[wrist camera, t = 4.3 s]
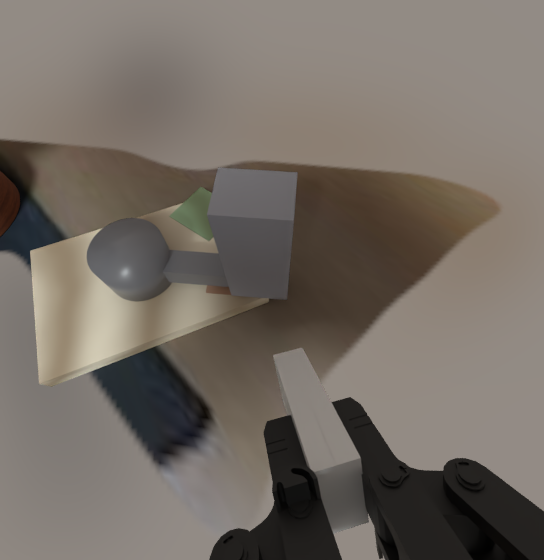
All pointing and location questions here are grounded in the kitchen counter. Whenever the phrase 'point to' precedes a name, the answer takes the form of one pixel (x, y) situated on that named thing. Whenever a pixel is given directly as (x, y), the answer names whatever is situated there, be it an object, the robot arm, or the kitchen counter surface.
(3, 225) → the music box
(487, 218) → the kitchen counter surface
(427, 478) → the robot arm
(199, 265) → the grey block with ball
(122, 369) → the kitchen counter surface
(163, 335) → the board
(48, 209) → the kitchen counter surface
